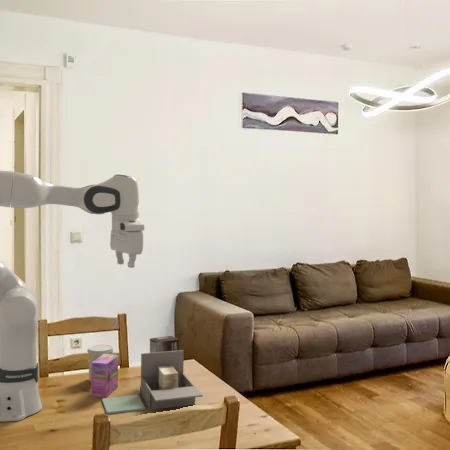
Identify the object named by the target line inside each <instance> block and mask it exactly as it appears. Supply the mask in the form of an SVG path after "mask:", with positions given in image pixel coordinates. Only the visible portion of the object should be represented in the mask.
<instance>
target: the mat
mask: <svg viewBox="0 0 450 450" xmlns="http://www.w3.org/2000/svg"><path fill="white" fill-rule="evenodd" d="M101 401H102V404H103V407H104V409H105V410H104V411H105V413H106V414H107V415H113V414H119V413H128V412H136V411H137V412H138V411H145V410H146V406H145V405H144V403H143V402H142V400H141V398H140V396H139V395H138V394H134V395H133V394H132V395H124V396H123V395H122V396H115V397H106V398H105V397H103V398H101Z"/></svg>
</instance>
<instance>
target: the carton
mask: <svg viewBox="0 0 450 450" xmlns="http://www.w3.org/2000/svg"><path fill="white" fill-rule="evenodd" d="M184 351H185V350H184V349H181V350H180V349H179V351H167V352H155V353H150V352H146V353H140V395H141V396H142V399H143V400H144V402H145V403H146V406H147V407H148V408H149V411H152V410H159V409H160V410H161V409H165V408H166V409H167V408H175V407H176V408H177V407H185V406H193V405H196V398H202V397H203V394H202V393H201V392H200V390H199V389H198V388H197V386H195V384H194V383H193V382H192V381H191V380H190V379H189V378H188V376H187V375H186V374H185V373H184V361H185V359H184V354H185V353H184ZM167 365H172V366H173V367H174V369H175V370H176V371H177V372H178V388H171V389H162V390H157V366H167Z"/></svg>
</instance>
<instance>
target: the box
mask: <svg viewBox="0 0 450 450" xmlns="http://www.w3.org/2000/svg"><path fill="white" fill-rule="evenodd" d="M90 383H91V385H90V396H91V397H95V398H108V396H109V395H111V394H112V393H113V391H115V390H116V389H118V387H119V355H118V354H114V353H113V354H103V355H102V356H100V357H99V358H97V359H96V360H94V361H93V362H92V364H91V382H90Z"/></svg>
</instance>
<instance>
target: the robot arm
mask: <svg viewBox="0 0 450 450" xmlns="http://www.w3.org/2000/svg"><path fill="white" fill-rule="evenodd" d="M139 196H140V194H139V184H138V182H137V180H136V178H135V177H133V176H130V175H127V174H126V175H125V174H114V175H113V176H112V177H110V178H108V179H106V180H105V181H102V182H100V183H97V184H90V185H87V186H84V187H83V186H82V187H74V186H73V187H72V186H63V185H57V184H52V183H49V182H47V181H44V180H43V179H41V178H39V177H37V176H35V175H31V174H28V173H24V172H19V171H11V170H10V171H9V170H0V207H4V208H11V209H29V208H30V209H31V208H37V207H40V206H45V205H59V206H69V207H75V208H78V209H81V210H83V211H84V212H86V213H89V214H91V215H104V214H106V213H107V214H108V213H111V231H110V240H109V241H110V242H109V246H110V247H109V248H110V250H111V251H115V256H116V259H117V260H116V264H117V265H124V264H125V262H124V261H125V260H124V256H123V254H128V262H127V267H128V268H131V269H134V268H135V263H136V259H137V255H141V254H143V253H142V252H143V250H144V231H145V224H144V223H143V222H142V221H141V220H140V214H139V209H138V208H139V202H140V197H139ZM38 322H39V303H38V301H37V298H36V295H35V292H34V291H33V289H31V287H29V286H28V284H27V283H25V282H24V281H23V280H22V279H21V278H20V277H19V276H18V275H16V274H15V273H14V271H12V270H11V269H10V268H9V267H8V266H7V265H5V264H4V263H3V262H2V261H1V260H0V422H17V421H21V420H23V419H26V417H29V416H32V415H34V414H36V413H38V412H39V411H41V410H42V408H43V404H42V400H41V397H40V392H39V391H40V390H39V377H40V375H39V374H40V372H39V371H40V367H39V362H38Z"/></svg>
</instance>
